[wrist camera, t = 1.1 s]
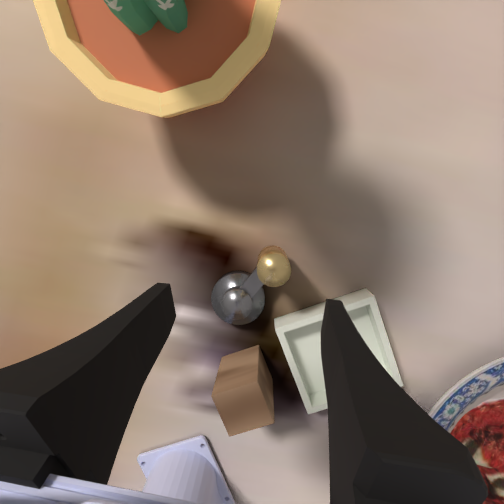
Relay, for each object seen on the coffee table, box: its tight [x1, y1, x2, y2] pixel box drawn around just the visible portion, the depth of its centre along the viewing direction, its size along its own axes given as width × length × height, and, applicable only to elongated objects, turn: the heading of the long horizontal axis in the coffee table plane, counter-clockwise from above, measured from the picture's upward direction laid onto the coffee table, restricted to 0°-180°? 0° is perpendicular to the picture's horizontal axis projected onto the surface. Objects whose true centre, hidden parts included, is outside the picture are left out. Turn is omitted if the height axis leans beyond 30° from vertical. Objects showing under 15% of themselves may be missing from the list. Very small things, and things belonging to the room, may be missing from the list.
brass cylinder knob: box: [221, 246, 291, 320], centre depth 25 cm, size 8×3×4 cm, turn 141°
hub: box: [211, 271, 265, 325], centre depth 28 cm, size 5×5×1 cm
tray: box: [274, 288, 403, 414], centre depth 28 cm, size 9×9×2 cm
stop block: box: [212, 345, 274, 437], centre depth 27 cm, size 4×4×6 cm
